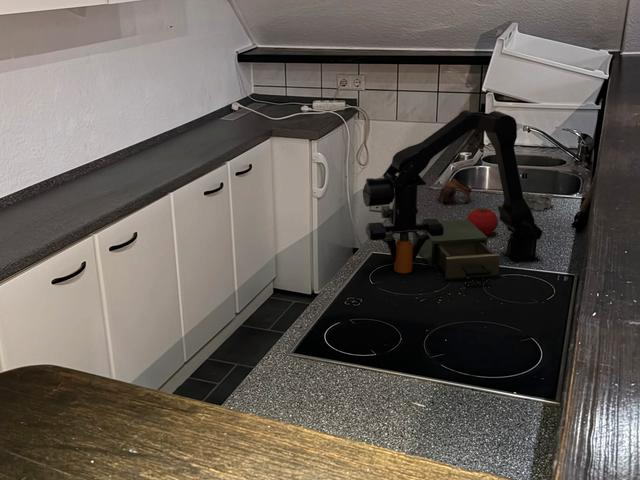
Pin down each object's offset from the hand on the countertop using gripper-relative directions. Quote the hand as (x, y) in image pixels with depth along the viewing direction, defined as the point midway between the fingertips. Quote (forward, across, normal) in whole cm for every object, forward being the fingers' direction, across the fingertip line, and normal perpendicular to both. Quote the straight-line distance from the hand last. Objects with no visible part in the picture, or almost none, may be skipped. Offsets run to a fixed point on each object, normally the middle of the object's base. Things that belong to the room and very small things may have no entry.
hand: (403, 260), depth 195 cm
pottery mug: (+3, -31, -53) cm, 61 cm away
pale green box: (+2, -15, -8) cm, 17 cm away
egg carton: (+3, -54, -44) cm, 70 cm away
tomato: (+3, -29, -22) cm, 36 cm away
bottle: (+2, 0, 0) cm, 3 cm away
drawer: (+2, -15, +5) cm, 16 cm away
